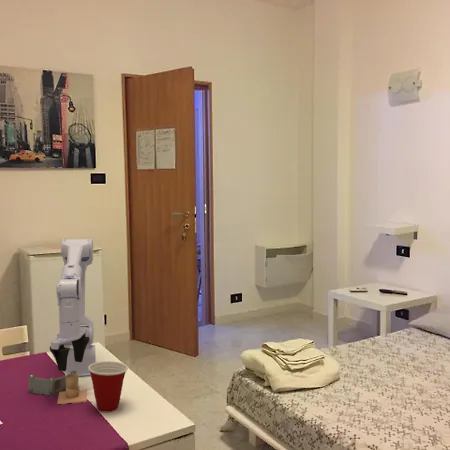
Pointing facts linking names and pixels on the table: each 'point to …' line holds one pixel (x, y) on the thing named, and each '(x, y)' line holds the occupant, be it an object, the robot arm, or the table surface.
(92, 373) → the plastic cup
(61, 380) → the bent rail
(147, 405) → the table surface
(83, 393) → the coaster
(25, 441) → the table surface
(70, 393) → the oak dowel
